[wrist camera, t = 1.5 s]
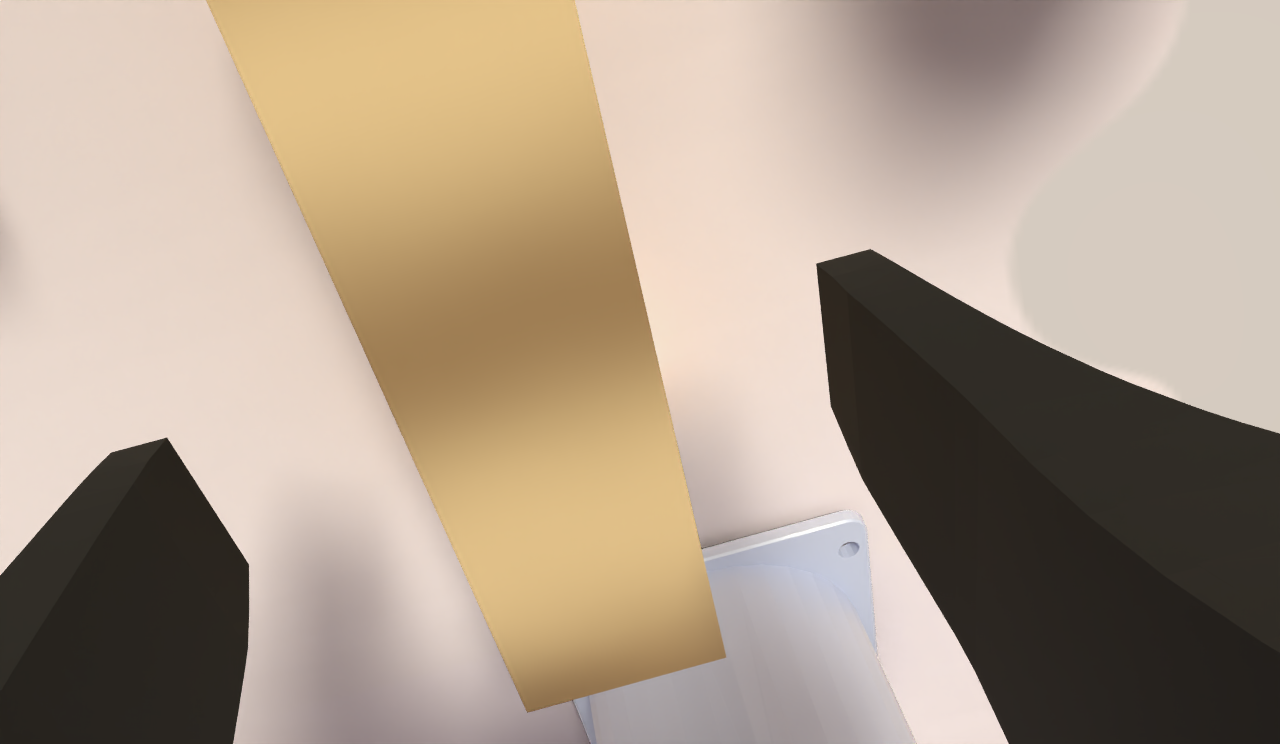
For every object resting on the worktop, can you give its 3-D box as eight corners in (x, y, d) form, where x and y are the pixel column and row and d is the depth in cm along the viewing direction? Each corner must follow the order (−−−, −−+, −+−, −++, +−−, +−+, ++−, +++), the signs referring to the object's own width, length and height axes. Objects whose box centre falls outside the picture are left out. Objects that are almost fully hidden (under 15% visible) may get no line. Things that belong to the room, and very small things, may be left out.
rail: (658, 436, 22) (730, 671, 17) (502, 477, 22) (528, 727, 17) (448, -427, 13) (470, -460, 8) (181, -360, 13) (35, -354, 8)
